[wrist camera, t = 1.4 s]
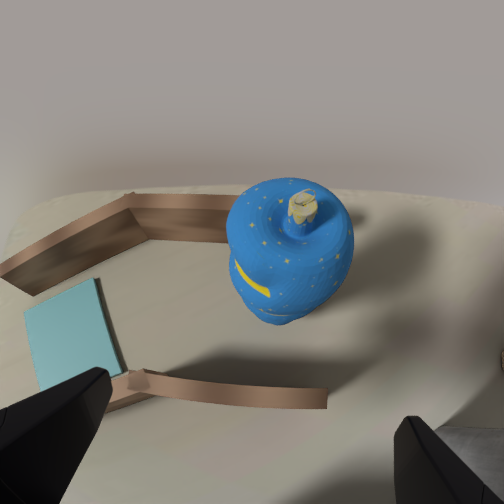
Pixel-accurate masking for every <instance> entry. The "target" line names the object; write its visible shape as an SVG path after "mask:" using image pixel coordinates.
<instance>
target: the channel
mask: <svg viewBox="0 0 504 504" xmlns="http://www.w3.org/2000/svg"><path fill="white" fill-rule="evenodd" d="M238 197H239V196H237V195H206V194H135V193H134V192H132V193H130V194H124V196H123V197H121V198H119V199H117V200H115V201H113V202H111V203H109V204H107V205H105V206H103V207H101V208H99V209H97V210H95V211H93V212H91V213H89V214H87V215H85V216H83V217H81V218H79V219H77V220H75V221H73V222H72V223H70V224H68V225H66V226H64V227H62V228H60V229H59V230H57V231H55V232H53V233H51V234H50V235H48V236H46V237H44V238H43V239H41V240H39V241H37V242H36V243H34V244H32V245H31V246H29V247H27V248H26V249H24V250H22V251H21V252H19V253H17V254H16V255H14V256H12V257H11V258H9V259H8V260H6V261H4V262H3V263H1V264H0V277H1V278H2V279H4V280H6V281H7V282H9V283H10V284H12V285H14V286H16V287H17V288H19V289H21V290H22V291H24V292H26V293H28V294H29V295H31V296H35V295H37V294H39V293H40V292H42V291H44V290H46V289H48V288H50V287H52V286H54V285H56V284H58V283H60V282H62V281H64V280H66V279H67V278H69V277H71V276H73V275H75V274H77V273H79V272H81V271H83V270H85V269H87V268H89V267H92V266H94V265H96V264H98V263H100V262H102V261H104V260H106V259H108V258H110V257H112V256H114V255H116V254H118V253H121V252H123V251H125V250H127V249H129V248H131V247H133V246H135V245H138V244H140V243H142V242H144V241H146V240H148V239H154V240H174V241H194V242H213V243H228V239H227V231H226V223H227V218H228V215H229V212H230V210H231V208H232V206H233V204H234V203H235V201H236V200H237V198H238ZM111 382H112V387H113V393H112V396H111V399H110V401H109V403H108V406H107V408H106V411H105V413H108V412H111V411H114V410H117V409H120V408H123V407H126V406H128V405H131V404H134V403H137V402H140V401H142V400H145V399H148V398H150V397H153V396H156V395H159V396H164V397H171V398H177V399H183V400H190V401H198V402H206V403H214V404H224V405H234V406H247V407H262V408H284V409H327V398H328V388H282V387H262V386H247V385H234V384H223V383H213V382H204V381H196V380H188V379H181V378H174V377H168V375H167V374H166V373H161V372H156V371H152V370H147V369H141V370H138V371H132V370H129V374H128V375H126V376H123V377H121V378H118V379H115V380H113V381H111ZM105 413H104V414H105Z"/></svg>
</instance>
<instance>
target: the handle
mask: <svg viewBox="0 0 504 504" xmlns="http://www.w3.org/2000/svg"><path fill="white" fill-rule="evenodd" d="M501 357H502V368H503V370H504V351H502V355H501Z"/></svg>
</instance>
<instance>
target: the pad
mask: <svg viewBox="0 0 504 504" xmlns="http://www.w3.org/2000/svg"><path fill="white" fill-rule="evenodd" d="M24 317H25V323H26V329H27V335H28V340H29V345H30V350H31V355H32V359H33V363H34V368H35V372H36V376H37V379H38V383H39V387H40V390H41V391H44V390H46V389H48V388H50V387H52V386H55V385H57V384H59V383H61V382H63V381H65V380H68V379H70V378H72V377H74V376H76V375H78V374H80V373H83V372H85V371H87V370H89V369H91V368H93V367H96V366H98V367H101V368H104V369H107V370H108V371H109V374H110V378H111V377H114V376H117V375H119V374H122V373H123V370H122V368H121V365H120V362H119V359H118V356H117V353H116V350H115V347H114V344H113V341H112V338H111V335H110V332H109V329H108V325H107V322H106V319H105V315H104V312H103V308H102V304H101V301H100V297H99V293H98V289H97V285H96V281H95V279H94V278H91V279H88V280H86V281H84V282H82V283H80V284H78V285H76V286H74V287H72V288H70V289H68V290H66V291H64V292H62V293H60V294H58V295H56V296H54V297H52V298H50V299H48V300H46V301H44V302H42V303H40V304H38V305H37V306H35V307H33V308H31V309H29V310H27V311H25V312H24Z"/></svg>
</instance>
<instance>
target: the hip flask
mask: <svg viewBox="0 0 504 504" xmlns="http://www.w3.org/2000/svg"><path fill="white" fill-rule="evenodd" d="M434 432H435V433H436V434H437V435H438V436H439V437H440V438H441V439H442V440H443V441H444V442H445V443H446V444H447V445H448V446H449V447H450V448H451V449H452V450H453V451H454V452H455V453H456V454H457V455H458V456H459V457H460V459H461V460H462V461H463V462H464V463H465V464H466V465H467V466H468V467H469V468H470V469H471V470H472V471H473V472H474V473H475V474H476V475H477V476H478V477H479V478H480V479H481V480H482V481H483V482H484V484H486V485H487V486H488V487H489V488H490V489H491V490H492V491H493V492H494V493H495V494H496V495H497V496H498V497H499V498H500V499H501V500H503V501H504V429H491V428H469V427H454V426H441V427H439V428H437V429H436V430H435V431H434Z"/></svg>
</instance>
